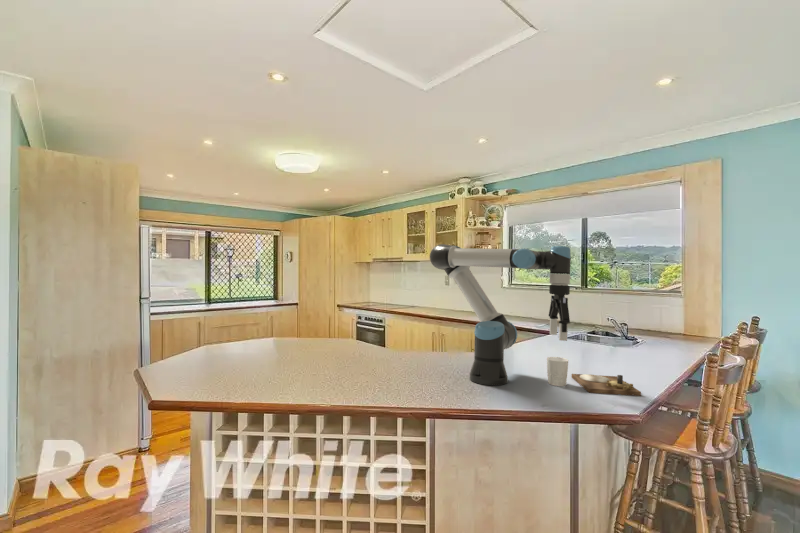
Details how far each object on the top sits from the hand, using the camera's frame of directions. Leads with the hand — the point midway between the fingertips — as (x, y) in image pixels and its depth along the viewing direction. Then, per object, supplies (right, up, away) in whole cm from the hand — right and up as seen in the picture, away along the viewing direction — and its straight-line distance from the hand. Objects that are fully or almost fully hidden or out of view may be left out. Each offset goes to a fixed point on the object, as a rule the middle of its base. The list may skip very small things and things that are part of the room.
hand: (557, 337), depth 152 cm
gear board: (+17, -19, -2) cm, 26 cm away
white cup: (-1, -19, -1) cm, 19 cm away
